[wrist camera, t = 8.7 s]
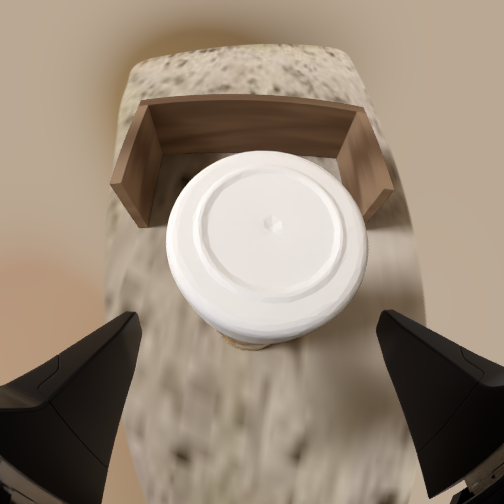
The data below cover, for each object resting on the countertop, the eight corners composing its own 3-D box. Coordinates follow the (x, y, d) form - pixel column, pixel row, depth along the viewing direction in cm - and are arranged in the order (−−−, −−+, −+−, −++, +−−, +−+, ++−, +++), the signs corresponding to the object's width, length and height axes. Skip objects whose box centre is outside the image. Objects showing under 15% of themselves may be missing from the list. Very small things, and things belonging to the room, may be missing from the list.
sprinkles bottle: (268, 360, 17) (342, 372, 4) (204, 334, 17) (121, 280, 5) (292, 298, 19) (386, 184, 6) (231, 274, 19) (219, 123, 7)
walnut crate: (360, 230, 21) (394, 190, 15) (138, 227, 20) (109, 183, 14) (342, 153, 24) (363, 107, 18) (156, 148, 23) (141, 100, 17)
